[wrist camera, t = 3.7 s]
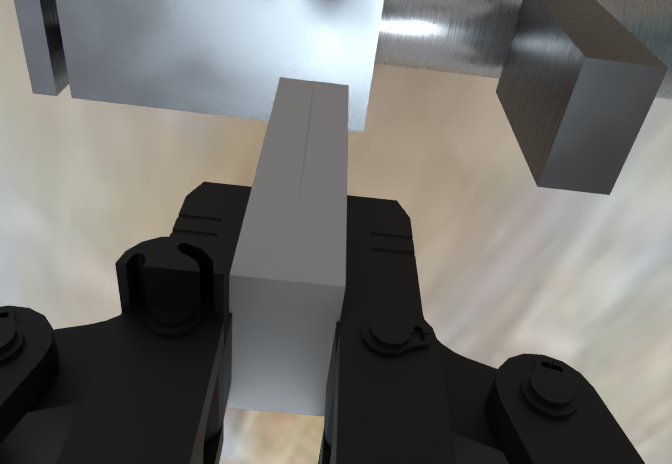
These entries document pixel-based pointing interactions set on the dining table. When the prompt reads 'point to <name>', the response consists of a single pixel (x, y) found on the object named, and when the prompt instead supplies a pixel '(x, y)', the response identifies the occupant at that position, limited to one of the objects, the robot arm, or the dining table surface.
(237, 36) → the outer sleeve
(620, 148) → the block with metal shaft
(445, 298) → the dining table surface
